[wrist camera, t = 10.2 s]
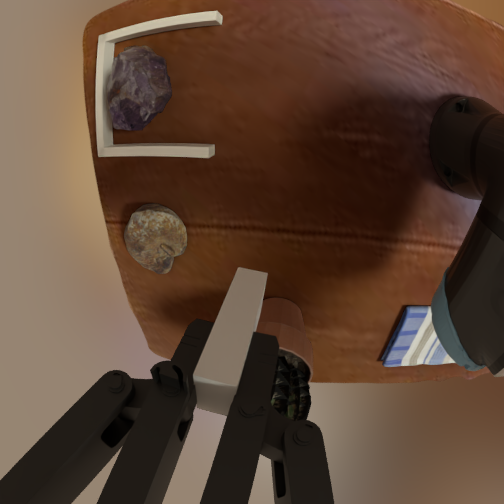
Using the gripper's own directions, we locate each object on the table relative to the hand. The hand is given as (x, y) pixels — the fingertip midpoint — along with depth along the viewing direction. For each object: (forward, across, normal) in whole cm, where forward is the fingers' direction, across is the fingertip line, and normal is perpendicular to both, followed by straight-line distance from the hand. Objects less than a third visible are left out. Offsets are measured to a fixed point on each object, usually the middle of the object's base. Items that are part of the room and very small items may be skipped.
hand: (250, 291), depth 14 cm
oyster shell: (+26, +20, +15) cm, 36 cm away
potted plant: (+26, -3, +26) cm, 37 cm away
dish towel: (+27, -38, +25) cm, 53 cm away
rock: (+26, +20, -11) cm, 35 cm away
